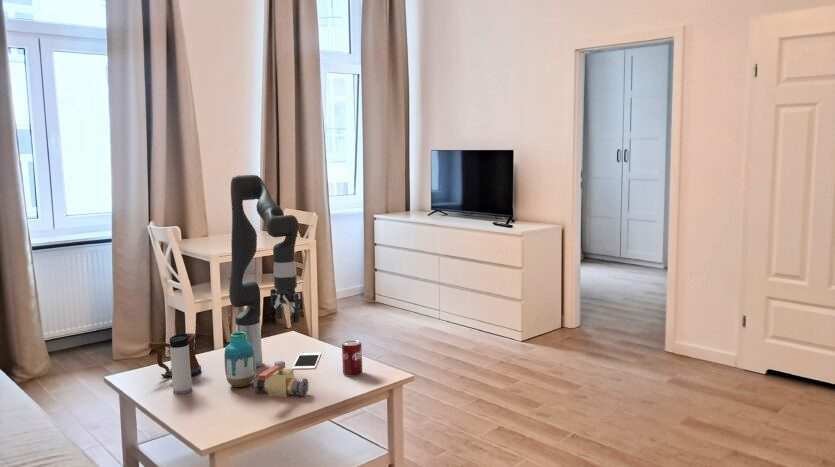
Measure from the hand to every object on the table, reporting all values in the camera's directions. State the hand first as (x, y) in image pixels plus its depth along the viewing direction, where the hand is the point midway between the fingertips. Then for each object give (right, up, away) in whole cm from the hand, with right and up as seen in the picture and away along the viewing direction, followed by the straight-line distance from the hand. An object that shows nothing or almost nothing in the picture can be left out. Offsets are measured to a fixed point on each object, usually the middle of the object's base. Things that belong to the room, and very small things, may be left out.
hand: (287, 320), depth 226 cm
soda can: (+20, -23, +21) cm, 37 cm away
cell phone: (+1, -22, +36) cm, 42 cm away
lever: (-4, -17, -3) cm, 18 cm away
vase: (-19, -25, +12) cm, 34 cm away
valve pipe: (-3, -26, +3) cm, 26 cm away
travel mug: (-39, -26, +8) cm, 47 cm away
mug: (-47, -24, +24) cm, 58 cm away
